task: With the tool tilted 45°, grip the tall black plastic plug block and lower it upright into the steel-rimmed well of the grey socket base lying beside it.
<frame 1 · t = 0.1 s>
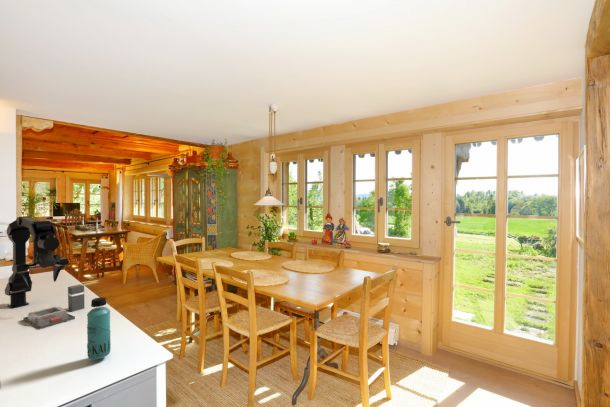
hand: (42, 283, 138), 15 cm above the counter, tool pointing down, fingers open, 9 cm apart
plug block: (76, 309, 147), on the counter
grey socket base: (47, 318, 135), on the counter
beverage bottle: (99, 359, 101), on the counter
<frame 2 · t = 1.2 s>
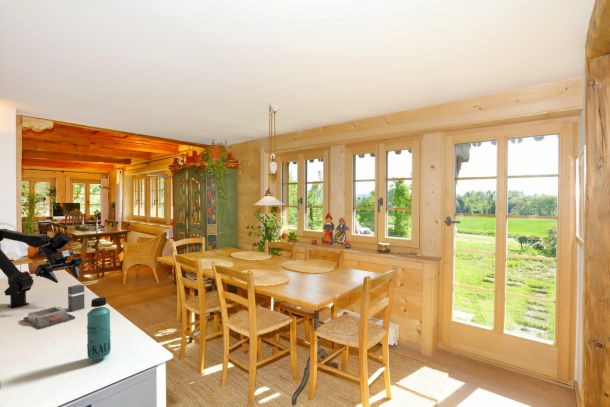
hand: (68, 279, 148), 14 cm above the counter, tool tilted 45°, fingers open, 9 cm apart
nothing on the counter moved.
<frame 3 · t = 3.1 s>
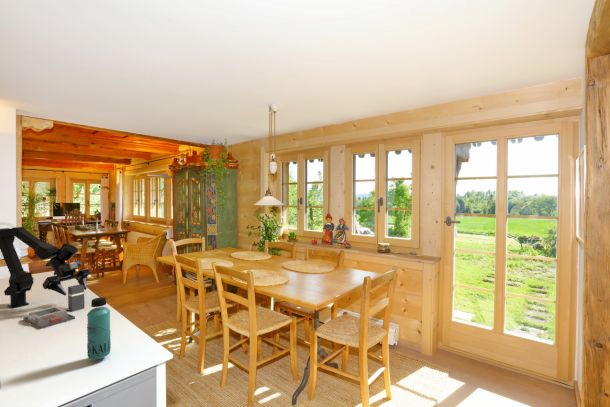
hand: (76, 291, 147), 8 cm above the counter, tool tilted 45°, fingers open, 9 cm apart
nothing on the counter moved.
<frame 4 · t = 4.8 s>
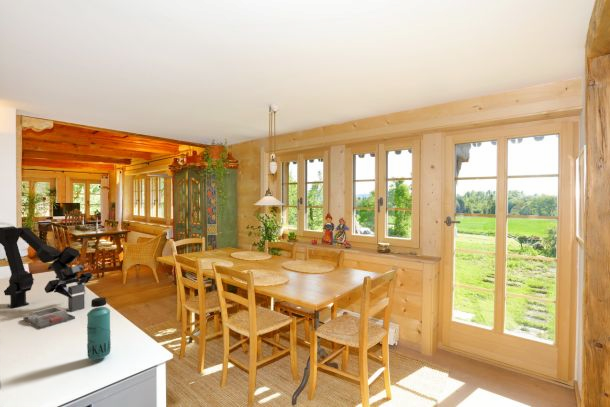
hand: (78, 295, 146), 7 cm above the counter, tool tilted 45°, fingers closed on plug block, 5 cm apart
plug block: (76, 309, 147), on the counter, touching gripper
everything else where it was.
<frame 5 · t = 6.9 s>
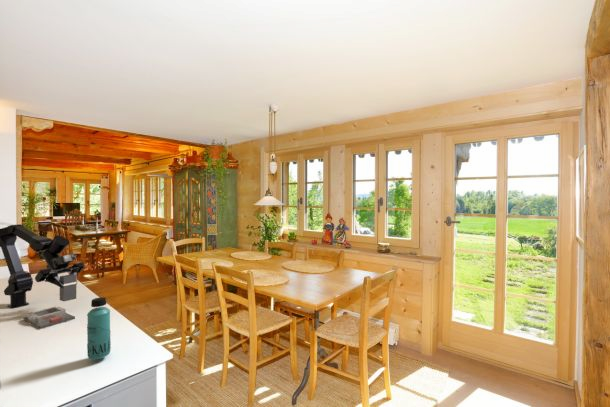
hand: (69, 285, 143), 12 cm above the counter, tool tilted 45°, fingers closed on plug block, 5 cm apart
plug block: (68, 299, 143), point 6 cm above the counter, touching gripper
everything else where it was.
when the fingers open (9 cm above the counter, at t = 9.0 s): plug block drops 1 cm, resting on grey socket base.
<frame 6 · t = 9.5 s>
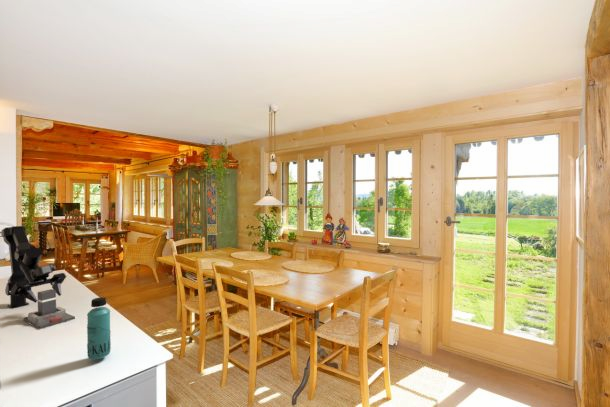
hand: (48, 298, 135), 9 cm above the counter, tool tilted 45°, fingers open, 9 cm apart
plug block: (47, 316, 135), point 1 cm above the counter, touching grey socket base
everything else where it was.
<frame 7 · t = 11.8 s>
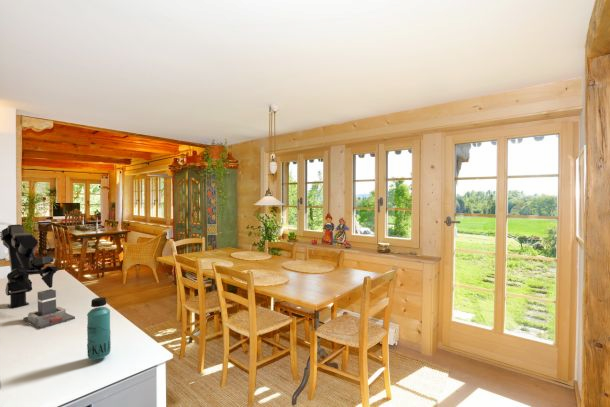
hand: (41, 288, 137), 12 cm above the counter, tool tilted 35°, fingers open, 9 cm apart
nothing on the counter moved.
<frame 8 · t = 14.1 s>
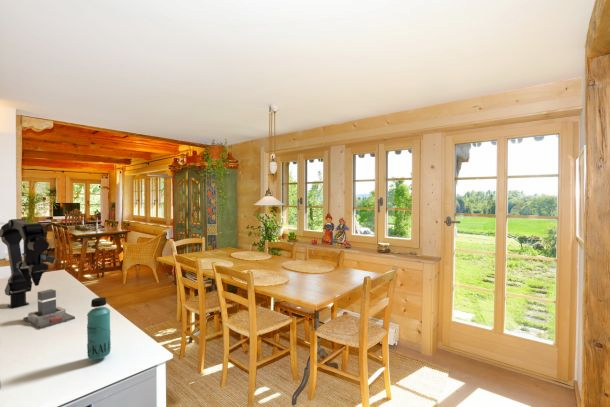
hand: (32, 284, 143), 13 cm above the counter, tool pointing down, fingers open, 9 cm apart
nothing on the counter moved.
at the end: plug block 0.1 cm off-centre on the grey socket base, point 1.0 cm above the grey socket base's base; plug block tilted 0°; the gripper is holding nothing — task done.
